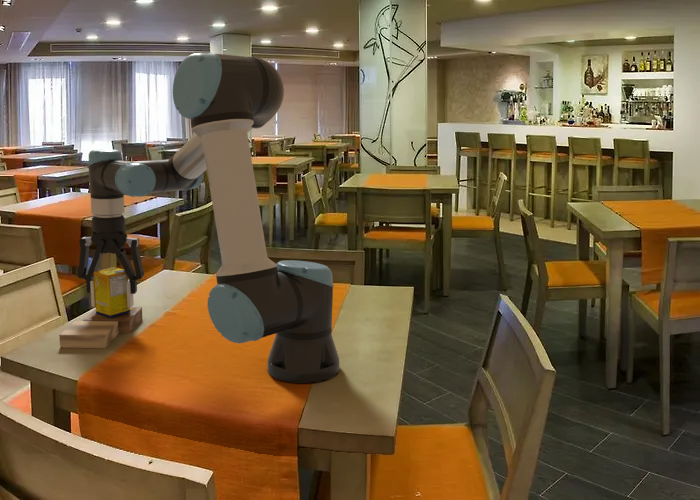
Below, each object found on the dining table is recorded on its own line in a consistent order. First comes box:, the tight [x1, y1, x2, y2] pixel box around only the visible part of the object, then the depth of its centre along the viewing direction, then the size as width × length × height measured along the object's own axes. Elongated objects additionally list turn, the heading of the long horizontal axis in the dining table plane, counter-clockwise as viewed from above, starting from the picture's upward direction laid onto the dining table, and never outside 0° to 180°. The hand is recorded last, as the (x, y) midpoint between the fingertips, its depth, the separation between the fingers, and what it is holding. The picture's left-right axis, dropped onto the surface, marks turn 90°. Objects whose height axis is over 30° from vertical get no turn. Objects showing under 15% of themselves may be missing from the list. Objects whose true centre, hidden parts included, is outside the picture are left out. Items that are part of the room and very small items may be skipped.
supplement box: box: [93, 266, 130, 318], centre depth 165 cm, size 6×6×11 cm
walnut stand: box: [82, 306, 143, 334], centre depth 166 cm, size 11×11×3 cm
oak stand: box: [58, 320, 120, 349], centre depth 156 cm, size 10×10×3 cm
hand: (112, 305), depth 166 cm, fingers closed on supplement box, 8 cm apart
